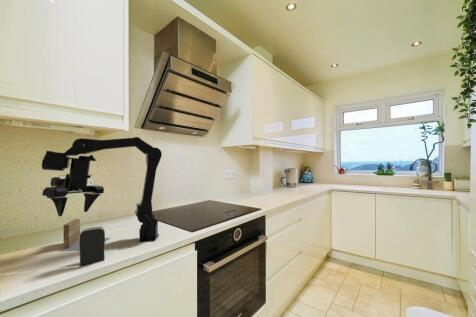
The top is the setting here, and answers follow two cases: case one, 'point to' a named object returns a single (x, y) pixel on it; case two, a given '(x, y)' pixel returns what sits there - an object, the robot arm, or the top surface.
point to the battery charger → (92, 246)
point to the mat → (75, 247)
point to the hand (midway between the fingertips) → (73, 213)
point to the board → (71, 233)
